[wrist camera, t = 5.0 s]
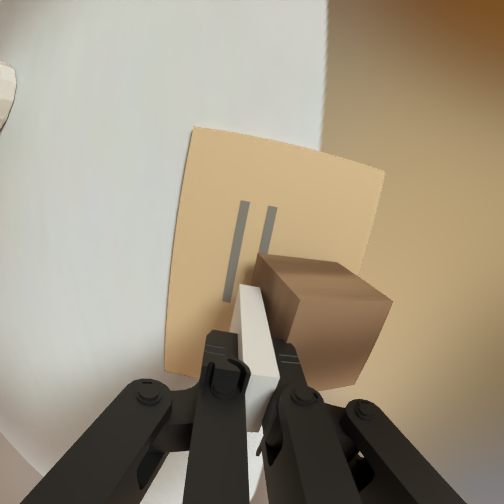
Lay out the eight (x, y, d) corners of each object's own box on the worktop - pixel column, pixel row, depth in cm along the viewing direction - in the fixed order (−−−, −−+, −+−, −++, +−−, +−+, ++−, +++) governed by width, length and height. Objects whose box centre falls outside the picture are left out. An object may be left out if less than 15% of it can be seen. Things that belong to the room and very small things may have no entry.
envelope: (194, 127, 14) (193, 126, 14) (383, 171, 15) (385, 171, 14) (164, 368, 18) (163, 371, 18) (312, 389, 19) (313, 392, 19)
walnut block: (257, 252, 14) (300, 299, 10) (337, 262, 16) (393, 301, 12) (238, 335, 16) (267, 397, 11) (313, 334, 17) (354, 384, 13)
